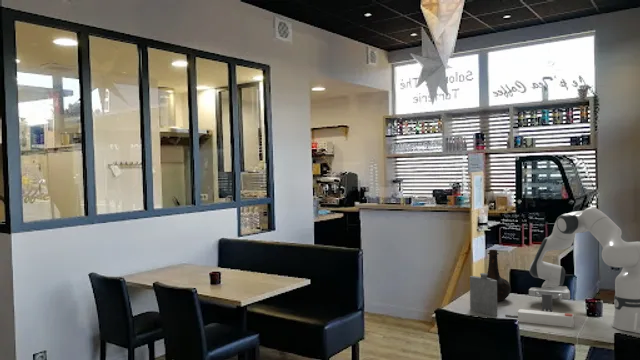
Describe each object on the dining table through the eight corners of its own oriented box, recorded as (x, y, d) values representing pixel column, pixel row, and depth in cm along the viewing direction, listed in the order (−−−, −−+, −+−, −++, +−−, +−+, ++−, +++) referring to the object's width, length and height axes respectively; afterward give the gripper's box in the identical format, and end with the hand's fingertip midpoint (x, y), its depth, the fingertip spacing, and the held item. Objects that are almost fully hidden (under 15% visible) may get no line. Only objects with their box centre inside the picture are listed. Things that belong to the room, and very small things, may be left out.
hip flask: (469, 309, 275) (468, 271, 274) (474, 308, 277) (473, 270, 277) (494, 316, 262) (494, 276, 261) (499, 314, 264) (499, 275, 264)
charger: (542, 311, 267) (542, 292, 267) (552, 312, 265) (552, 293, 265) (541, 315, 261) (541, 295, 261) (551, 316, 259) (551, 296, 259)
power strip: (506, 317, 260) (506, 306, 260) (573, 323, 247) (573, 312, 246) (504, 320, 254) (504, 309, 254) (573, 327, 241) (573, 315, 241)
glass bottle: (500, 305, 283) (500, 253, 283) (471, 299, 296) (470, 250, 296) (516, 299, 295) (516, 249, 295) (488, 294, 308) (487, 246, 308)
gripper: (529, 283, 291) (527, 288, 278) (570, 286, 282) (569, 291, 269) (529, 295, 291) (527, 300, 278) (570, 298, 282) (570, 304, 269)
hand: (548, 296), depth 274 cm, fingers open, 8 cm apart
